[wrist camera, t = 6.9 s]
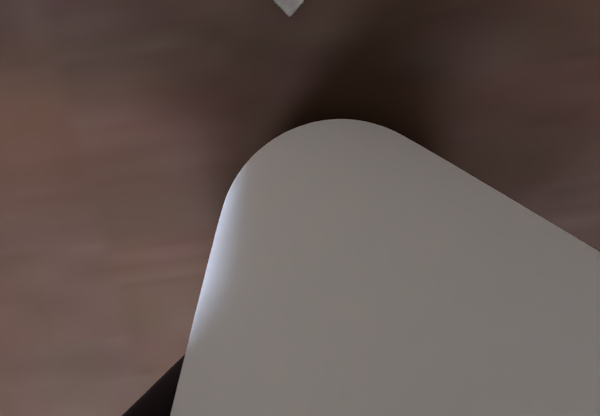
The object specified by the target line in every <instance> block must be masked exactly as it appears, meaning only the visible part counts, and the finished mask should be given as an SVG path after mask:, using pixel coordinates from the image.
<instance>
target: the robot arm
mask: <svg viewBox="0 0 600 416" xmlns="http://www.w3.org/2000/svg"><path fill="white" fill-rule="evenodd" d="M184 357H185V355H184V356H183V357H182V358H181V359H180V360H179V361H178V362H177V363H176V364H175V365H174V366H173V367H171V368H170V369H169V370H168V371H167V372H166V373H165V374H164V375H163V376H162V377H161V378H160V379H159V380H158V381H157V382H156V383H155V384H154V385H153V386H152V387H151V388H150V389H149V390H148V391H147V392H146V393H145V394H144V395H143V396H142V397H141V398H140V399H139V400H138V401H137V402H136V403H135V404H134V405H133V406H132V407H130V408H129V409H128V410H127V411H126V412H125V413H124V414H123V415H122V416H170V414H171V410H172V406H173V402H174V398H175V394H176V390H177V385H178V381H179V377H180V373H181V369H182V365H183V361H184Z"/></svg>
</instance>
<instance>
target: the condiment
mask: <svg viewBox="0 0 600 416" xmlns="http://www.w3.org/2000/svg"><path fill="white" fill-rule="evenodd" d="M273 1H274V2H275V3H276V4H277V5H278V6H279V7H280V8H281V9H282V10H283V11H284V12H285V13H286V14H287V15H288V16H289V17H290V16H291V15H292V14H293V13H294V12H295V11H296V10H297V8H298V7H299V6H300V5H301V4H302V3H303V1H304V0H273Z"/></svg>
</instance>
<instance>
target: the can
mask: <svg viewBox="0 0 600 416" xmlns="http://www.w3.org/2000/svg"><path fill="white" fill-rule="evenodd" d="M170 416H600V252H599V251H597V250H596V249H594V248H592V247H591V246H589V245H587V244H586V243H584V242H582V241H581V240H579V239H577V238H576V237H574V236H572V235H571V234H569V233H567V232H566V231H564V230H562V229H561V228H559V227H557V226H556V225H554V224H552V223H551V222H549V221H547V220H546V219H544V218H542V217H541V216H539V215H537V214H535V213H534V212H532V211H530V210H529V209H527V208H525V207H524V206H522V205H520V204H519V203H517V202H515V201H514V200H512V199H510V198H509V197H507V196H505V195H504V194H502V193H500V192H499V191H497V190H495V189H494V188H492V187H490V186H489V185H487V184H485V183H483V182H482V181H480V180H478V179H477V178H475V177H473V176H472V175H470V174H468V173H467V172H465V171H463V170H462V169H460V168H458V167H456V166H455V165H453V164H451V163H450V162H448V161H446V160H445V159H443V158H441V157H440V156H438V155H436V154H434V153H433V152H431V151H429V150H428V149H426V148H424V147H422V146H421V145H419V144H417V143H415V142H414V141H412V140H410V139H408V138H407V137H405V136H403V135H401V134H399V133H397V132H395V131H393V130H391V129H388V128H386V127H383V126H381V125H377V124H374V123H370V122H366V121H361V120H353V119H330V120H322V121H317V122H312V123H308V124H305V125H302V126H299V127H296V128H294V129H291V130H289V131H287V132H285V133H283V134H281V135H279V136H278V137H276V138H274V139H273V140H271V141H270V142H268V143H267V144H266V145H264V146H263V147H262V148H261V149H260V150H258V151H257V152H256V153H255V154H254V155H253V156H252V157H251V158H250V159H249V160H248V162H247V163H246V164H245V165H244V166H243V168H242V169H241V170H240V172H239V173H238V175H237V176H236V178H235V180H234V182H233V183H232V185H231V187H230V189H229V191H228V194H227V196H226V199H225V202H224V205H223V208H222V211H221V215H220V218H219V222H218V226H217V230H216V233H215V237H214V241H213V245H212V249H211V253H210V257H209V261H208V265H207V269H206V273H205V277H204V281H203V285H202V289H201V293H200V297H199V301H198V305H197V309H196V313H195V317H194V321H193V325H192V329H191V333H190V337H189V341H188V345H187V349H186V353H185V357H184V361H183V365H182V369H181V373H180V377H179V381H178V385H177V390H176V394H175V398H174V402H173V406H172V410H171V414H170Z"/></svg>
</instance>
